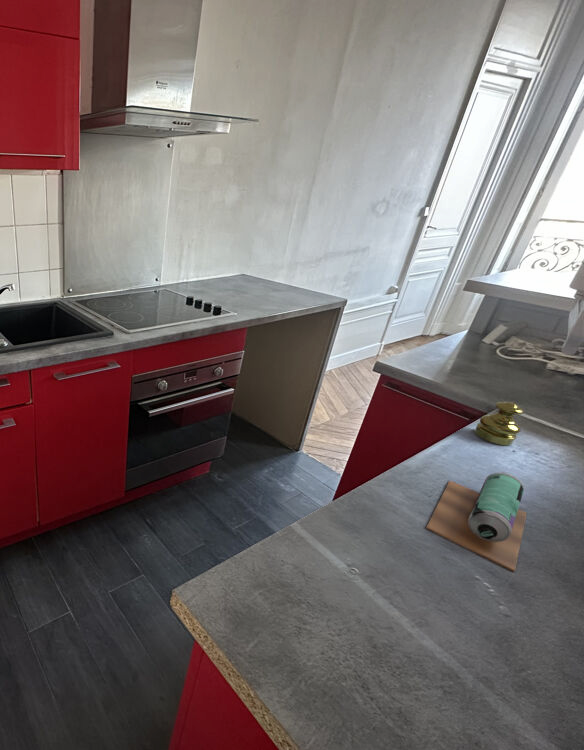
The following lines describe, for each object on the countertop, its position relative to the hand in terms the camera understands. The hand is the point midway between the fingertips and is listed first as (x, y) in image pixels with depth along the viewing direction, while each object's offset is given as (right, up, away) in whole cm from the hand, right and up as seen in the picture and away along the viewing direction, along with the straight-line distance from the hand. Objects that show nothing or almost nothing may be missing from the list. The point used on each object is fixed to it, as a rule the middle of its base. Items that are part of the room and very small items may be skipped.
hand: (566, 352), depth 81 cm
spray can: (-11, -27, +2) cm, 29 cm away
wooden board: (-21, -32, -3) cm, 38 cm away
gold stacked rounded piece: (+8, -20, +23) cm, 32 cm away
